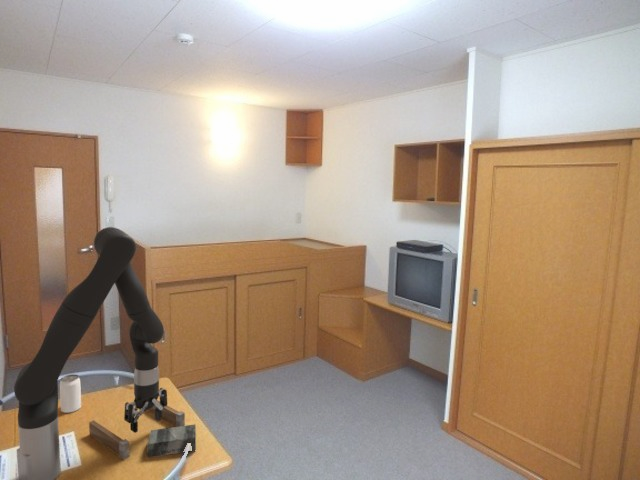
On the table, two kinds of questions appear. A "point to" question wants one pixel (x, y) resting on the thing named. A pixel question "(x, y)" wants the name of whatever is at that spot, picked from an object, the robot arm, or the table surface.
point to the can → (70, 393)
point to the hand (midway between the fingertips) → (146, 425)
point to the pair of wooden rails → (122, 445)
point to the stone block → (171, 440)
